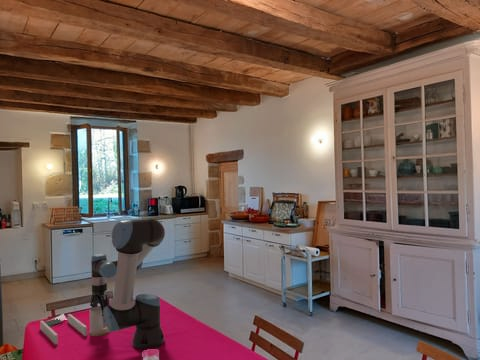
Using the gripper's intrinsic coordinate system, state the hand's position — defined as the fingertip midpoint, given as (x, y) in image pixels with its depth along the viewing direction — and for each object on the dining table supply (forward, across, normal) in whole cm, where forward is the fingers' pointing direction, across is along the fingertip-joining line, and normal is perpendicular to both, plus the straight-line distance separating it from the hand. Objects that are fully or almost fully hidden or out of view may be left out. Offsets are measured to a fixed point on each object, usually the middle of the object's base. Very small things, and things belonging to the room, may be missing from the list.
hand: (100, 323), depth 198 cm
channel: (+4, +13, +14) cm, 20 cm away
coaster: (+4, 0, 0) cm, 4 cm away
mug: (+4, 0, 0) cm, 4 cm away
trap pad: (+4, +31, +14) cm, 34 cm away
